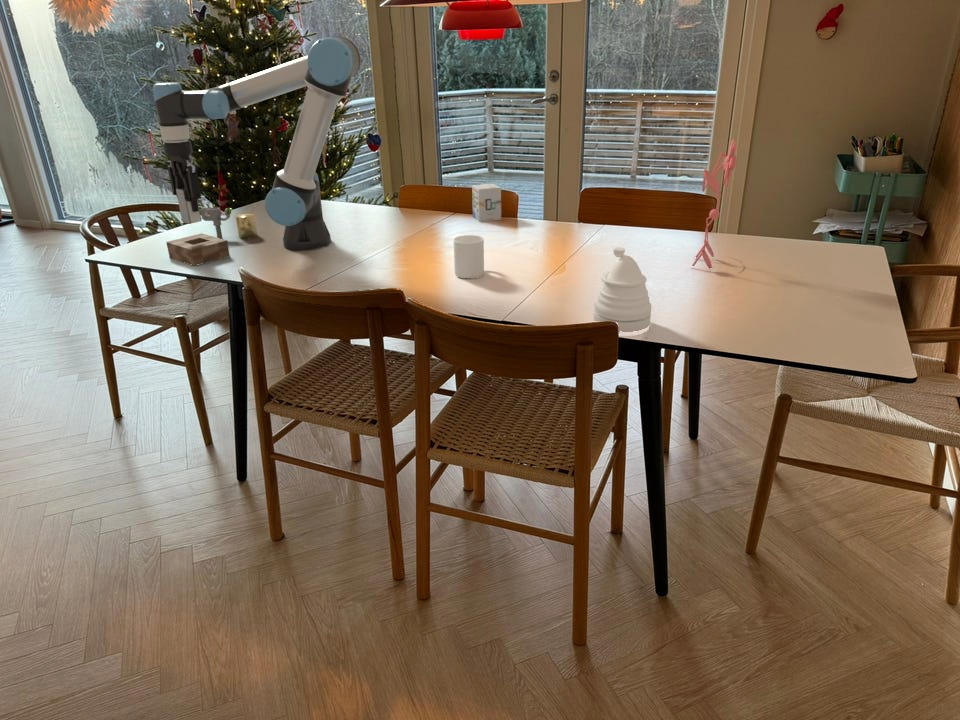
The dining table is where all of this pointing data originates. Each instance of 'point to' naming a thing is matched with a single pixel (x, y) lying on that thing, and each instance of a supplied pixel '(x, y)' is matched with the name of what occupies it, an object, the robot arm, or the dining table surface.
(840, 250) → the dining table surface
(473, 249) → the mug
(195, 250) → the bore block
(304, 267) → the dining table surface
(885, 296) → the dining table surface
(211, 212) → the mechanical component
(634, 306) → the honey pot
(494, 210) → the ink box
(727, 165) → the pink branching twig
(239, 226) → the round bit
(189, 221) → the square bit
